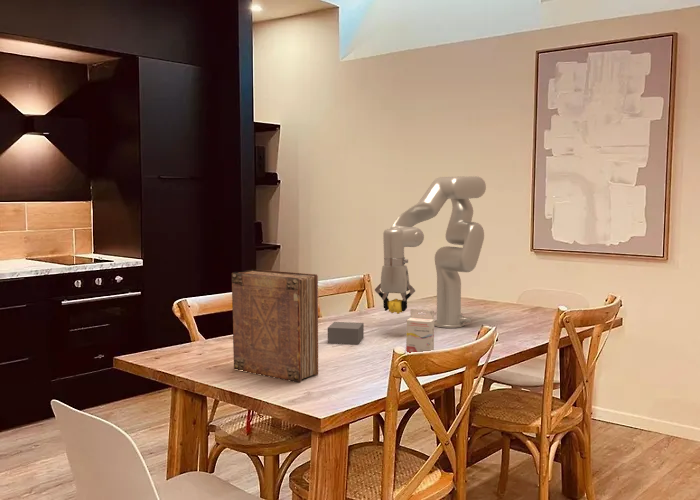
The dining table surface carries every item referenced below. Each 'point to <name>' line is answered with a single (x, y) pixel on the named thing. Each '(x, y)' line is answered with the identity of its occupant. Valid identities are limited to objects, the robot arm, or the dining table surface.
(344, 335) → the charcoal base block
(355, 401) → the dining table surface
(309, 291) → the book
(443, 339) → the dining table surface
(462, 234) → the robot arm
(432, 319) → the ink cartridge box
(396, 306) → the yellow rounded lump
